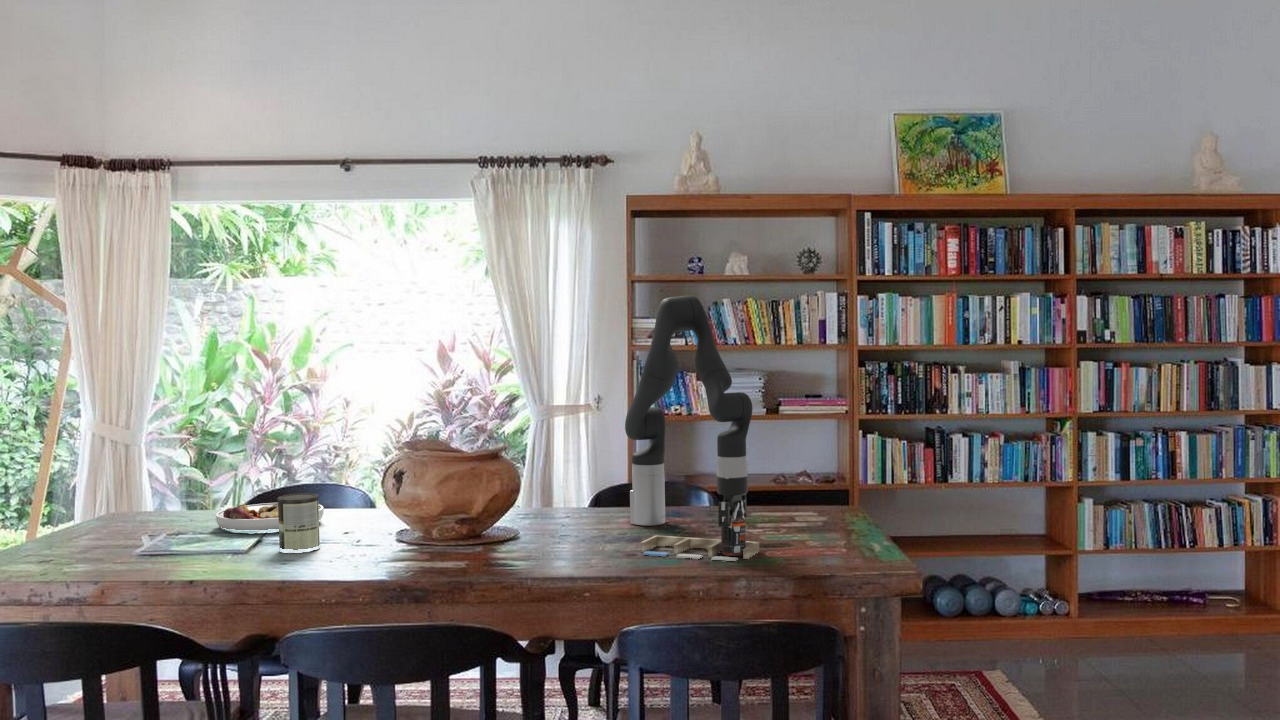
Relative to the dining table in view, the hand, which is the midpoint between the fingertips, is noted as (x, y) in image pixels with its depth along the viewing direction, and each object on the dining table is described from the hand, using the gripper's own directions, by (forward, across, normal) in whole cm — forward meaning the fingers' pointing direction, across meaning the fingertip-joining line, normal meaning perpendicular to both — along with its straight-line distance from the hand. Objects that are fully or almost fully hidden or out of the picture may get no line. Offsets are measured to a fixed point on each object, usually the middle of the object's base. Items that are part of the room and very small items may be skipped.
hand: (733, 540), depth 266 cm
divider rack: (+4, 0, -9) cm, 10 cm away
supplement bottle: (+4, 0, 0) cm, 4 cm away
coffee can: (+4, +30, -109) cm, 113 cm away
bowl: (+4, +5, -142) cm, 142 cm away
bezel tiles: (+4, +6, -9) cm, 12 cm away
